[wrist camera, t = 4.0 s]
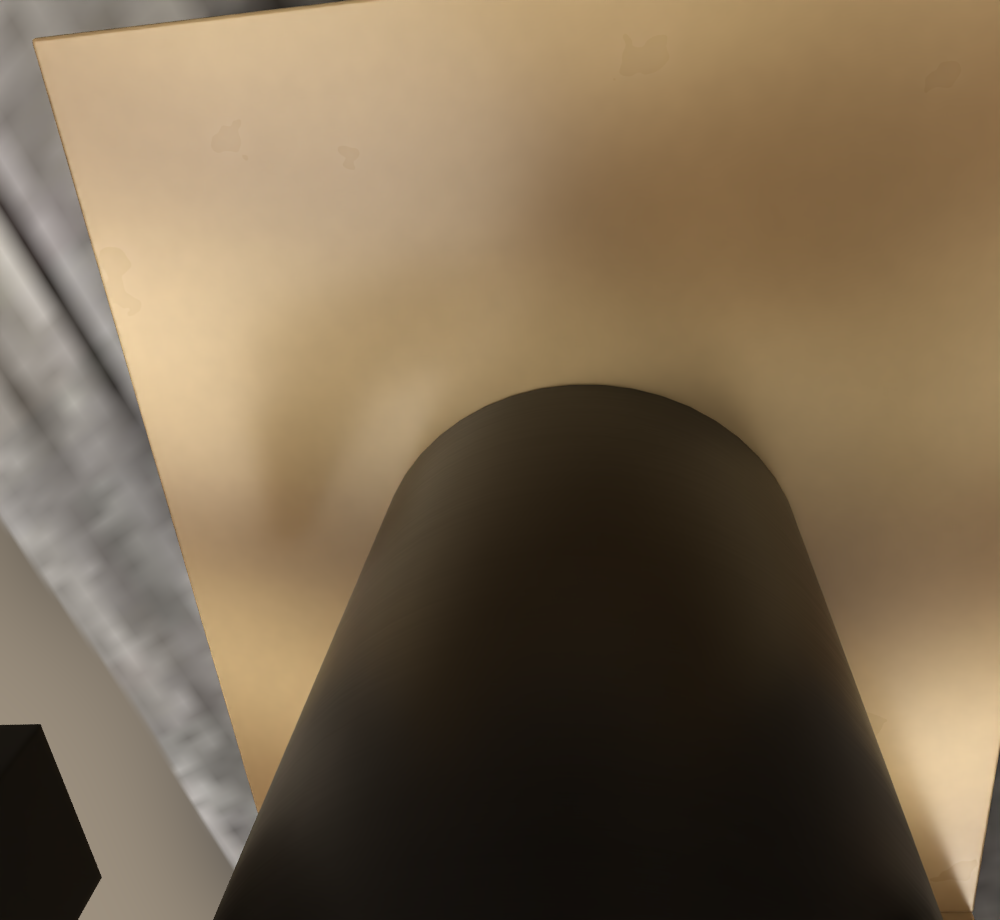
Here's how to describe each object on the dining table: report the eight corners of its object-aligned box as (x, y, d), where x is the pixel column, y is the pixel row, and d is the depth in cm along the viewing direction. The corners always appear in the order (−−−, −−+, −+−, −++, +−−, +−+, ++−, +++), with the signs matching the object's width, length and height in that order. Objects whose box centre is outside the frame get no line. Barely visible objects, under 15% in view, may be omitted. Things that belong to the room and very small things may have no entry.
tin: (337, 388, 15) (-213, 1186, 5) (821, 358, 14) (1387, 1285, 4) (406, 746, 18) (158, 1675, 8) (803, 743, 17) (1088, 1797, 7)
